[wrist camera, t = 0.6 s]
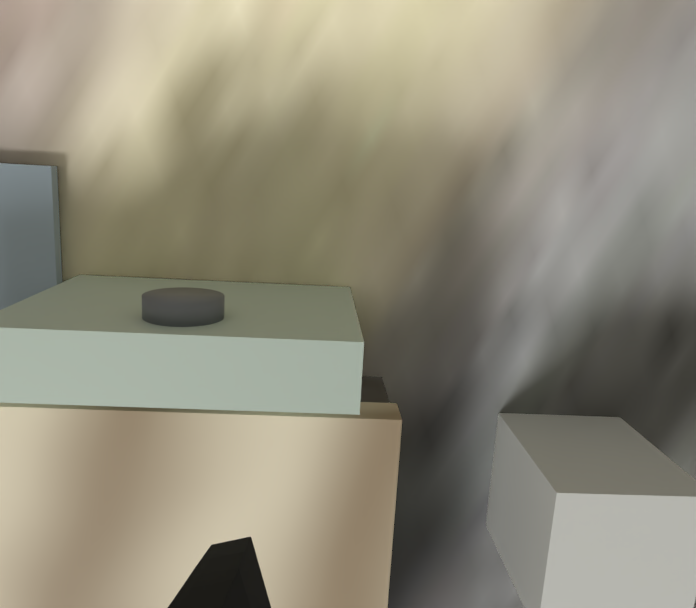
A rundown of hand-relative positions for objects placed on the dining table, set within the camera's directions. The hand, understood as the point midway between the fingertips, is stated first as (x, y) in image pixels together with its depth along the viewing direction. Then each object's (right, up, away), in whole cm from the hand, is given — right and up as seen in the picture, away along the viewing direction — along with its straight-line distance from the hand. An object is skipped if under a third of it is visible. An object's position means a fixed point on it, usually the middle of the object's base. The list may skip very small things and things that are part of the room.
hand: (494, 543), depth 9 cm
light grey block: (+4, -2, +11) cm, 12 cm away
